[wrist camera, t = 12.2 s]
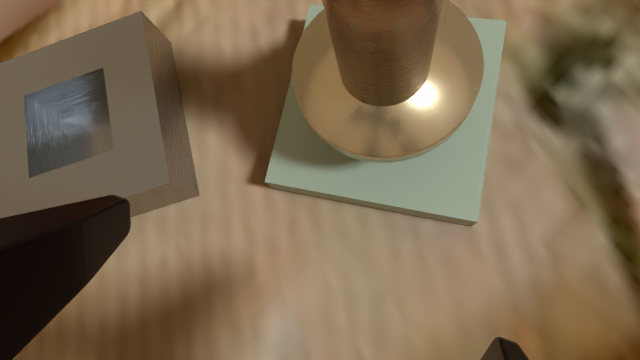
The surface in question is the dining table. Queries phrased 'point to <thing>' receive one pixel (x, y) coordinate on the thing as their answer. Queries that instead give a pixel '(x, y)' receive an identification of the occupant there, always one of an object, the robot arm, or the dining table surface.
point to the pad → (396, 177)
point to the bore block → (95, 122)
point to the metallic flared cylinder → (387, 76)
